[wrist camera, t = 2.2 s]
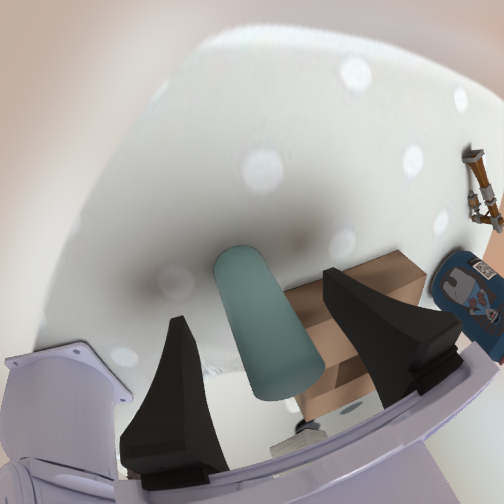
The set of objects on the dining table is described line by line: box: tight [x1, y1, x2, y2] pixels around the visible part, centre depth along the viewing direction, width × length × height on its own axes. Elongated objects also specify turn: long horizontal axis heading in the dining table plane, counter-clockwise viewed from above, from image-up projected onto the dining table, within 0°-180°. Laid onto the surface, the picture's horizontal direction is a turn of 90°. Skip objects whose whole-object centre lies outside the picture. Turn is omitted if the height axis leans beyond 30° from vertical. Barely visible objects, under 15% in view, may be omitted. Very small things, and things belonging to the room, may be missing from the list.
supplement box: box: [270, 429, 328, 477], centre depth 32 cm, size 7×7×13 cm
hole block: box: [284, 250, 427, 422], centre depth 22 cm, size 10×16×4 cm, turn 9°
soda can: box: [431, 251, 504, 365], centre depth 20 cm, size 7×7×12 cm
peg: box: [214, 246, 325, 401], centre depth 13 cm, size 3×3×8 cm
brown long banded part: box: [462, 149, 504, 233], centre depth 19 cm, size 2×8×4 cm, turn 32°
